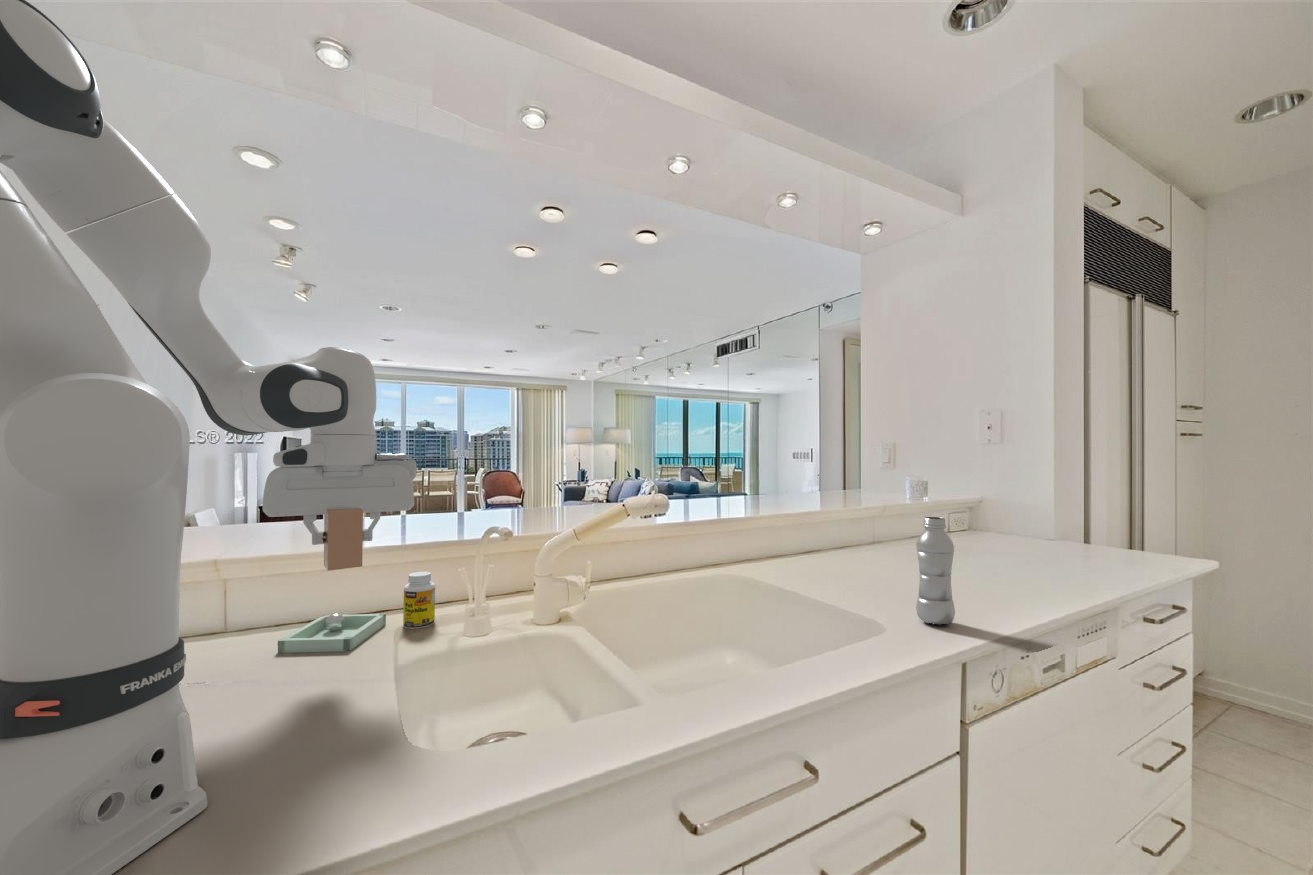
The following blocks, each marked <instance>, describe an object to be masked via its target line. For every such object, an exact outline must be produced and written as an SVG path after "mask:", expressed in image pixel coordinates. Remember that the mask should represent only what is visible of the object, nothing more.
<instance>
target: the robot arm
mask: <svg viewBox="0 0 1313 875" xmlns="http://www.w3.org/2000/svg"><path fill="white" fill-rule="evenodd" d="M100 96H101V95H100V91H99V87H98V84H97V82H96V78H95V76H94V74H93V71H92V69H91V67H90V65H89V63H88V61H87V60H86V59H85V57H84V56H83V54H82V53H81V51H80V50H79V49H78V48H77V46H76V45H75V44H74V42H73V41H72V40H71V39H70V38H69V37H68V36H67V35H66V34H65V32H64V31H62V29H61V28H60V27H59V26H58V25H57V24H56V23H54V22H53V20H52V19H50V18H49V16H47V15H46V14H44V13H43V12H42V11H41V10H39V9H38V8H37V7H36V6H34V5H32V4H31V3H30V2H28V1H27V0H0V164H2V165H4V166H6V167H7V168H9V169H10V170H12V172H13V173H14V174H15V175H16V178H18V180H19V181H20V182H21V185H23V186H24V188H26V190H27V192H29V194H30V195H31V196H32V198H33V199H34V201H36V202H37V204H38V205H39V206H40V207H41V209H43V210H44V212H45V213H46V214H47V215H48V216H49V218H50V219H51V220H52V221H53V222H54V223H55V225H57V226H58V227H59V228H60V230H62V231H63V233H66V236H67V237H68V238H69V239H70V240H71V241H72V242H73V243H74V244H75V245H76V246H77V247H78V249H80V251H82V253H84V254H85V256H86V257H87V258H88V259H89V260H91V262H92V264H94V265H95V266H96V267H97V268H98V269H99V271H100V272H102V274H103V275H104V276H105V277H106V278H107V279H108V280H109V281H110V283H112V285H113V286H114V287H115V288H116V290H117V291H118V293H120V295H121V296H122V297H123V298H124V300H125V301H126V302H127V303H128V305H129V306H130V308H131V309H132V311H133V312H134V313H135V314H136V316H137V317H138V319H139V320H140V321H141V322H142V324H143V325H145V327H146V328H147V329H148V331H150V333H151V334H152V335H153V336H154V338H156V340H157V341H158V342H159V343H160V345H161V346H162V348H164V349H165V350H166V351H167V352H168V354H169V355H170V356H171V357H172V358H173V360H174V361H175V362H176V363H177V364H178V365H179V367H180V368H181V369H182V370H183V372H185V374H186V375H187V376H188V378H190V381H191V382H192V384H193V385H194V386H195V389H196V391H197V393H198V396H199V398H200V401H201V404H202V407H203V409H204V411H205V412H206V414H207V416H208V417H209V419H210V420H211V421H212V422H213V423H214V424H215V425H216V426H217V427H219V428H220V429H222V430H224V431H225V432H228V433H231V434H234V435H238V436H254V435H260V434H261V435H262V434H266V433H284V432H296V431H297V432H298V431H302V430H303V431H304V430H307V429H309V430H310V442H309V443H307V444H303V445H302V444H301V445H300V444H299V445H296V446H295V447H292V448H288V449H285V450H280V451H277V452H275V453H274V454H273V458H272V459H273V460H272V463H273V464H274V465H275V466H276V468H274V469H273V470H271V471H270V472H269V473H268V476H267V478H266V481H265V484H264V489H263V496H262V512H263V513H264V515H266V516H267V517H268V518H275V517H277V518H278V517H296V516H297V517H299V516H301V517H303V520H302V521H303V523H302V524H303V525H304V526H305V527H306V529H307V530H308V532H309V533H310V534H311V544H312V546H317V545H319V546H320V545H324V543H325V538H324V536H325V531H324V530H323V531H319V530H318V528H317V526H316V525H315V523H314V522H316V521H317V516H319V515H322V516H324V514H327V510H339V509H362V510H363V514H364V513H369V519H370V520H372V522H371V523H370V525H369V526H368V528H363V542H372V541H373V537H374V536H373V535H374V534H373V531H374V529H375V527H376V526H377V524H378V522H379V521H380V519H381V513H382V512H383V513H384V512H403V511H407V512H408V511H410V510H411V509H412V508H414V506H415V492H414V484H413V481H414V479H416V477H417V473H418V465H417V462H416V460H415V459H414V458H413V457H411V456H409V455H407V454H406V453H395V454H392V453H377V433H376V432H377V431H376V428H375V425H374V418H375V414H376V411H377V383H376V374H375V371H374V368H373V364H372V362H371V360H370V359H369V358H368V357H366V355H364V354H362V353H359V352H357V351H354V350H350V349H348V348H347V349H346V348H340V347H332V346H331V347H330V346H329V347H328V346H327V347H321V348H319V349H317V351H316V352H313V353H311V354H309V355H306V356H304V357H301V358H297V359H294V360H289V361H284V362H280V363H279V362H278V363H273V364H271V363H270V364H265V365H260V366H257V365H253V364H252V363H251V364H250V363H249V362H247V361H245V360H243V359H242V358H241V357H240V356H239V355H238V354H237V353H236V352H235V351H234V349H233V348H232V347H231V345H230V344H229V343H228V341H227V340H226V338H225V337H224V336H223V335H222V334H221V332H220V331H219V329H218V328H217V327H216V325H215V324H214V323H213V322H212V320H211V319H210V318H209V316H208V315H207V313H206V312H205V310H204V308H203V305H202V303H201V300H200V290H201V286H202V282H203V280H204V278H205V277H206V274H207V272H208V271H209V267H210V265H211V264H210V263H211V258H212V257H211V256H212V255H211V254H212V252H211V251H212V250H211V245H210V243H209V240H208V239H207V237H206V235H205V234H206V233H204V231H203V229H202V227H201V226H200V224H199V223H198V221H197V219H196V217H194V215H193V214H192V212H191V211H190V210H189V208H188V207H187V206H186V205H185V203H184V202H183V201H182V200H181V199H180V198H179V196H178V195H177V194H176V193H175V191H174V190H173V189H172V188H171V187H170V185H169V184H168V183H167V182H166V180H165V179H164V178H163V177H162V176H161V175H160V174H159V173H158V171H157V170H156V169H155V168H154V167H153V166H152V165H151V163H150V162H149V161H148V160H147V159H146V158H145V157H144V156H143V155H142V154H141V152H139V151H138V150H137V149H136V147H135V146H133V145H132V144H131V143H130V142H129V141H128V140H127V139H126V138H125V137H124V136H123V135H122V134H121V133H120V132H119V131H118V130H117V129H116V128H115V127H113V125H111V124H110V122H108V121H107V120H106V119H105V118H104V117H103V113H102V110H101V109H102V101H101V100H102V99H101V97H100ZM189 429H190V428H189V425H188V422H187V420H186V418H185V416H184V414H183V413H182V411H181V410H180V408H179V407H178V405H176V403H175V402H173V401H172V399H171V398H169V397H168V396H167V395H166V394H164V393H163V392H161V391H159V390H158V389H157V388H155V387H153V386H151V385H149V384H148V383H147V382H146V380H145V378H144V376H142V374H141V372H140V371H139V369H138V368H137V366H136V365H135V364H134V362H133V360H132V359H131V357H130V356H129V354H128V353H127V351H126V350H125V348H124V346H123V345H122V344H121V342H120V340H119V338H118V337H117V335H116V334H115V332H114V331H113V329H112V327H111V326H110V324H109V323H108V321H107V319H106V318H105V316H104V314H103V313H102V311H101V310H100V307H99V306H98V305H97V302H96V301H95V299H94V297H92V295H91V293H89V291H88V289H87V288H86V287H85V285H84V284H83V282H82V281H81V280H80V278H79V277H78V275H77V274H76V273H75V271H74V270H73V268H72V266H71V265H70V264H69V262H68V261H67V259H66V258H65V257H64V255H63V254H62V253H61V251H60V250H59V249H58V247H57V245H56V244H55V243H54V241H53V240H52V238H51V237H50V236H49V234H48V233H47V232H46V230H45V229H44V228H43V226H42V225H41V223H40V222H39V220H38V219H37V217H36V216H35V214H34V213H33V212H32V210H31V208H30V207H29V206H28V204H27V203H26V202H25V201H24V200H23V198H22V196H21V195H20V194H19V192H18V191H17V190H16V189H15V187H14V186H13V184H12V183H11V182H10V181H9V180H8V178H7V177H6V176H5V175H4V173H3V172H2V171H1V170H0V875H113V874H114V873H116V872H117V871H118V870H120V869H121V868H122V867H125V865H127V864H129V863H130V862H131V861H133V860H134V859H136V858H137V857H139V855H141V854H143V853H144V852H146V851H147V850H149V849H150V848H151V847H153V846H154V845H157V843H158V842H160V841H162V840H163V839H164V838H166V837H168V836H169V835H170V834H171V833H173V832H175V831H176V830H177V829H179V828H181V827H182V826H183V825H184V824H186V823H187V822H189V821H190V820H191V819H193V818H194V817H196V816H198V815H199V814H200V813H202V812H203V811H205V809H206V808H207V807H208V796H207V792H206V791H205V790H204V789H203V788H202V787H201V786H199V785H198V784H199V777H198V775H197V770H196V758H195V750H194V749H195V748H194V747H195V746H194V740H193V732H192V730H193V729H192V723H191V718H190V714H189V711H188V710H187V708H186V705H185V703H184V701H183V698H182V694H181V689H180V683H181V681H183V678H184V677H185V664H186V663H187V654H186V653H185V641H184V639H183V638H181V637H179V636H180V635H179V630H180V627H179V626H180V601H181V600H180V598H181V593H180V592H181V589H180V588H181V562H182V550H183V540H184V539H183V538H184V530H185V518H186V516H185V515H186V506H187V505H186V504H187V494H188V482H189V481H188V480H189V479H188V478H189V465H190V464H189V462H190V447H191V446H190V444H191V443H190V442H191V440H190V438H191V437H190V436H191V435H190V430H189ZM407 459H408V460H407Z"/></svg>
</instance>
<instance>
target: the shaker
mask: <svg viewBox="0 0 1313 875" xmlns="http://www.w3.org/2000/svg"><path fill="white" fill-rule="evenodd" d="M363 514H364V513H363V510H362V509H339V510H327V514H323V519H324V520H323V523H324V524H323V532H324V531H325V536H324V538H325V543H324V544H323V567H324V568H325V570H326V572H327V571H337V570H345V569H352V568H353V569H354V568H361V567H363V550H364V549H363V547H364V546H363V543H364V541H363V529H364V527H363V526H364V521H363V519H364V515H363Z"/></svg>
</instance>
